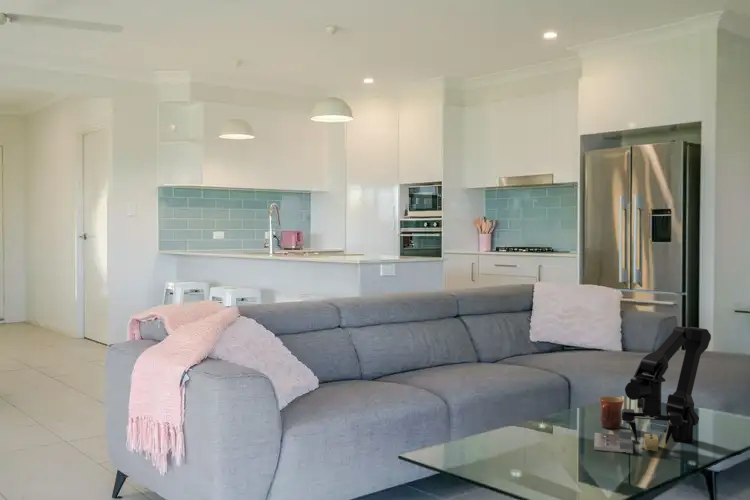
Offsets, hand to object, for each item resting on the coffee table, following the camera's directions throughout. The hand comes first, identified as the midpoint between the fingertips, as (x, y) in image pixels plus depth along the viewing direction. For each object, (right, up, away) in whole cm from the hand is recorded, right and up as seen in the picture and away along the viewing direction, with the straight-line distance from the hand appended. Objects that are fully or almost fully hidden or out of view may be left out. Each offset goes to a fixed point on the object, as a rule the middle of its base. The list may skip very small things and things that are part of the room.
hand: (651, 442), depth 244 cm
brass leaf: (0, -2, 0) cm, 2 cm away
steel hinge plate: (-11, -2, +4) cm, 12 cm away
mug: (-7, -1, +23) cm, 24 cm away
